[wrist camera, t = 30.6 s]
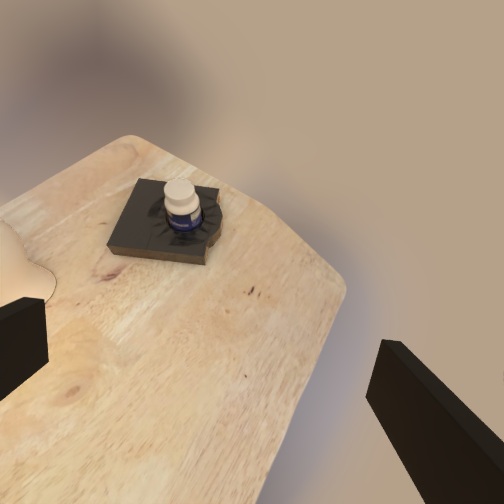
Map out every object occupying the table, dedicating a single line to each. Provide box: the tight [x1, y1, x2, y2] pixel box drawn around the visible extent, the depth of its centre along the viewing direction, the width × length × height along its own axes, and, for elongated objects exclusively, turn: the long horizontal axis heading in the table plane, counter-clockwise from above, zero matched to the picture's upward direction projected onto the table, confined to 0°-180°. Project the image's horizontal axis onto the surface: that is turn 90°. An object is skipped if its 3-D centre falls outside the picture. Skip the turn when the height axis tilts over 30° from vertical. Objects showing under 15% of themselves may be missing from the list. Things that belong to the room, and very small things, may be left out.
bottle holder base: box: [107, 178, 223, 265], centre depth 45 cm, size 18×16×3 cm
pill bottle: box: [164, 178, 202, 232], centre depth 42 cm, size 6×6×10 cm
